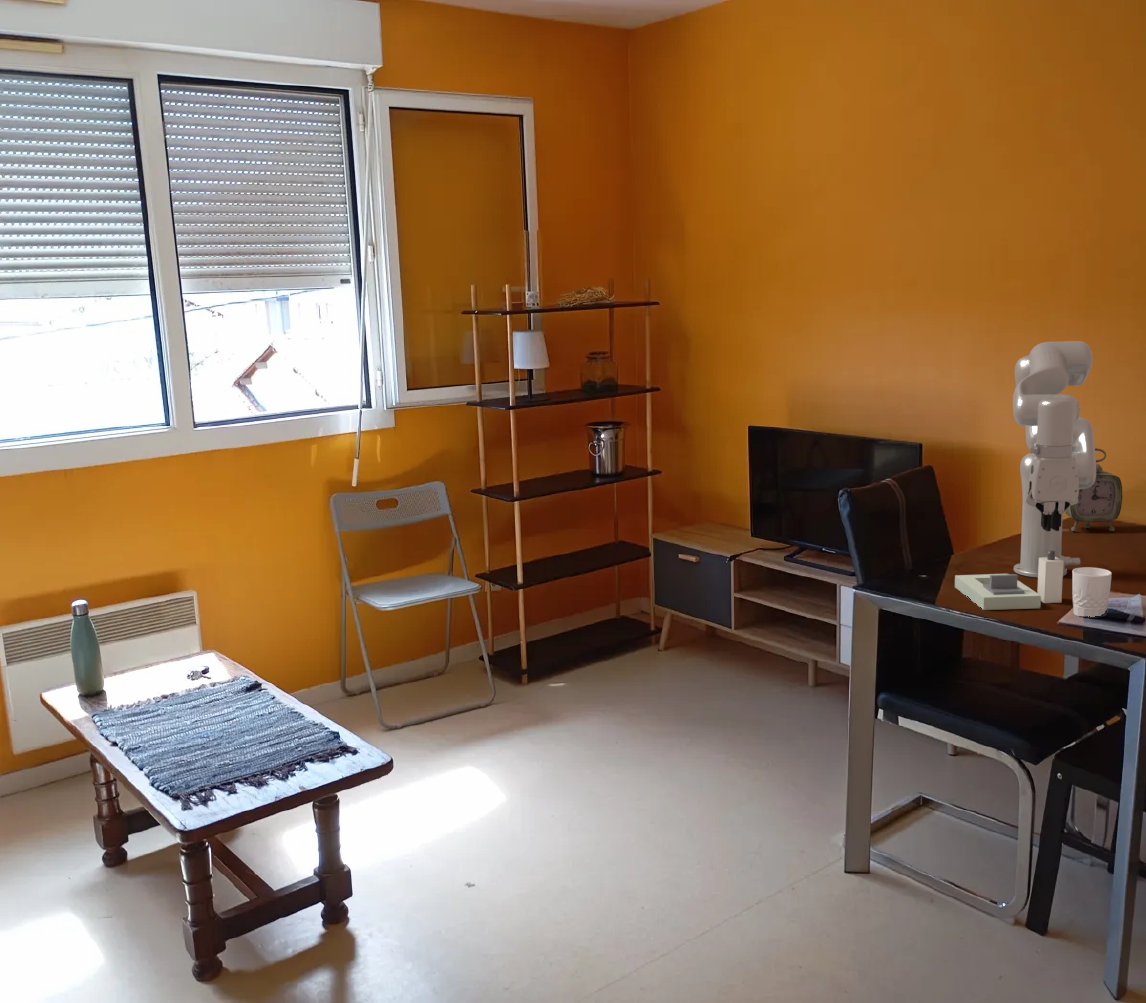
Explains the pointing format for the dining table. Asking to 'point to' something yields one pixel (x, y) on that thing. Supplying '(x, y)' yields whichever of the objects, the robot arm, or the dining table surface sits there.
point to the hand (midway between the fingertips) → (1050, 529)
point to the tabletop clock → (1098, 500)
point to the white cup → (1090, 591)
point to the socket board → (989, 601)
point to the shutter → (1003, 584)
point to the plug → (1050, 578)
